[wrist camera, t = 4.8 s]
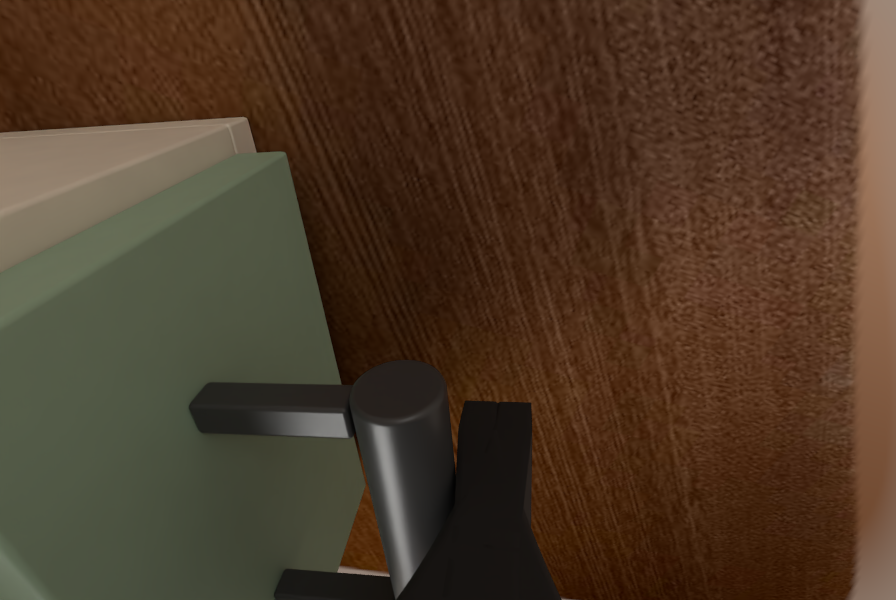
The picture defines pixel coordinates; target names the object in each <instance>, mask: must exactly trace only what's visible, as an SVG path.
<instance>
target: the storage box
mask: <svg viewBox="0 0 896 600" xmlns="http://www.w3.org/2000/svg"><path fill="white" fill-rule="evenodd" d="M242 153H257V152H256V148H255V144H254V141H253V137H252V133H251V130H250V126H249V122H248V119H247V118H245V117H235V118H219V119H204V120H189V121H173V122H158V123H143V124H127V125H112V126H97V127H81V128H66V129H51V130H35V131H20V132H5V133H0V273H1V272H3V271H5V270H7V269H9V268H11V267H13V266H15V265H17V264H19V263H21V262H23V261H25V260H27V259H29V258H31V257H33V256H35V255H37V254H39V253H41V252H43V251H45V250H47V249H49V248H51V247H53V246H55V245H57V244H59V243H61V242H63V241H65V240H67V239H69V238H71V237H73V236H75V235H77V234H79V233H81V232H83V231H85V230H87V229H89V228H91V227H93V226H95V225H97V224H99V223H101V222H103V221H105V220H106V219H108V218H110V217H112V216H114V215H116V214H118V213H120V212H122V211H124V210H126V209H128V208H130V207H132V206H134V205H136V204H138V203H140V202H142V201H144V200H146V199H148V198H150V197H152V196H154V195H156V194H158V193H160V192H162V191H164V190H166V189H168V188H170V187H172V186H174V185H176V184H178V183H180V182H182V181H184V180H186V179H188V178H190V177H192V176H194V175H196V174H198V173H200V172H202V171H204V170H206V169H208V168H210V167H212V166H214V165H216V164H218V163H220V162H222V161H224V160H226V159H228V158H230V157H232V156H234V155H236V154H242Z"/></svg>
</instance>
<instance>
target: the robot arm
mask: <svg viewBox="0 0 896 600" xmlns="http://www.w3.org/2000/svg"><path fill="white" fill-rule="evenodd" d="M531 477H532V414H531V403H524V402H499V403H497V402H490V401H465V403H464V407H463V411H462V415H461V420H460V424H459V431H458V449H457V468H456V488H455V505H454V507H453V509H452V511H451V512H450V514H449V516H448V518H447V520H446V522H445V523H444V525H443V527H442V529H441V531H440V532H439V534H438V536H437V538H436V539H435V541H434V543H433V544H432V546H431V548H430V549H429V551H428V552H427V554H426V556H425V557H424V559H423V560H422V562H421V564H420V565H419V567H418V568H417V570H416V571H415V573H414V574H413V576H412V577H411V579H410V580H409V582H408V583H407V585H406V586H405V588H404V589H403V591H402V592H401V593H400V595H399V596H398V598H397V599H396V600H561V598H560V595H559V593H558V591H557V589H556V586H555V584H554V582H553V580H552V578H551V575H550V573H549V571H548V569H547V566H546V564H545V562H544V559H543V557H542V554H541V552H540V549H539V547H538V545H537V542H536V540H535V537H534V534H533V532H532V529H531Z"/></svg>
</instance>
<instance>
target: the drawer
mask: <svg viewBox="0 0 896 600" xmlns="http://www.w3.org/2000/svg"><path fill="white" fill-rule="evenodd" d="M355 431H356V434H357V438H358V443H359V447H360V451H361V455H362V460H363V464H364V468H365V472H366V477H367V481H368V485H369V489H370V494H371V498H372V502H373V506H374V511H375V515H376V519H377V523H378V528H379V532H380V536H381V540H382V545H383V549H384V553H385V557H386V562H387V566H388V570H389V574H390V577H385V576H372V575H361V574H348V573H337V571H338V568H339V565H340V562H341V559H342V556H343V553H344V550H345V547H346V543H347V540H348V537H349V534H350V531H351V528H352V525H353V522H354V519H355V516H356V513H357V510H358V507H359V504H360V501H361V497H362V494H363V491H364V488H365V480H364V476H363V472H362V468H361V464H360V459H359V455H358V451H357V447H356V443H355V438H354V434H355ZM455 488H456V472H455V462H454V453H453V443H452V433H451V424H450V414H449V404H448V395H447V385H446V382H445V380H444V378H443V376H442V375H441V373H440V372H439V371H438V370H437V369H436V368H434V367H433V366H431V365H429V364H427V363H424V362H421V361H416V360H395V361H390V362H386V363H383V364H380V365H378V366H375V367H373V368H371V369H370V370H368V371H367V372H365V373H364V374H363V375H361V376H360V377H359V378H358V379H357V381H356V382H355V383H354V385H342V384H341V380H340V376H339V372H338V368H337V363H336V359H335V355H334V351H333V347H332V343H331V338H330V334H329V330H328V326H327V322H326V317H325V313H324V309H323V305H322V301H321V297H320V292H319V288H318V284H317V280H316V276H315V272H314V267H313V263H312V259H311V255H310V251H309V247H308V242H307V238H306V234H305V230H304V226H303V222H302V217H301V213H300V209H299V205H298V201H297V196H296V192H295V188H294V184H293V180H292V176H291V171H290V167H289V163H288V159H287V155H286V153H285V152H282V151H279V152H260V153H242V154H236V155H234V156H232V157H230V158H228V159H226V160H224V161H222V162H220V163H218V164H216V165H214V166H212V167H210V168H208V169H206V170H204V171H202V172H200V173H198V174H196V175H194V176H192V177H190V178H188V179H186V180H184V181H182V182H180V183H178V184H176V185H174V186H172V187H170V188H168V189H166V190H164V191H162V192H160V193H158V194H156V195H154V196H152V197H150V198H148V199H146V200H144V201H142V202H140V203H138V204H136V205H134V206H132V207H130V208H128V209H126V210H124V211H122V212H120V213H118V214H116V215H114V216H112V217H110V218H108V219H106V220H105V221H103V222H101V223H99V224H97V225H95V226H93V227H91V228H89V229H87V230H85V231H83V232H81V233H79V234H77V235H75V236H73V237H71V238H69V239H67V240H65V241H63V242H61V243H59V244H57V245H55V246H53V247H51V248H49V249H47V250H45V251H43V252H41V253H39V254H37V255H35V256H33V257H31V258H29V259H27V260H25V261H23V262H21V263H19V264H17V265H15V266H13V267H11V268H9V269H7V270H5V271H3V272H1V273H0V600H396V599H397V598H398V596H399V595H400V593H401V592H402V591H403V589H404V588H405V586H406V585H407V583H408V582H409V580H410V579H411V577H412V576H413V574H414V573H415V571H416V570H417V568H418V567H419V565H420V564H421V562H422V560H423V559H424V557H425V556H426V554H427V552H428V551H429V549H430V548H431V546H432V544H433V543H434V541H435V539H436V538H437V536H438V534H439V532H440V531H441V529H442V527H443V525H444V523H445V522H446V520H447V518H448V516H449V514H450V512H451V511H452V509H453V507H454V505H455Z"/></svg>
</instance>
